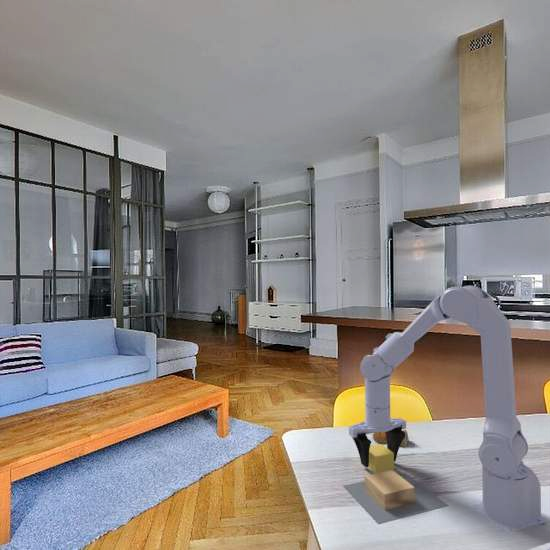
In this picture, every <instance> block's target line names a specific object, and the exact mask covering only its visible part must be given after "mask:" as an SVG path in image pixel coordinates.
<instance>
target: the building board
mask: <svg viewBox="0 0 550 550" xmlns="http://www.w3.org/2000/svg"><path fill="white" fill-rule="evenodd" d="M397 474H398V475H400V476H401V477H402V478H403V479H405V480H406V481H407V482H409V483H410V484H411V485H412V486H414V487H415V503H411V504H407V505H403V506H399V507H395V508H391V509H387V510H384V509H383V508H382V507H381V506H380V505H379V504H378V503H377V502H376V501H375V500H374V499H373V498H372V497H371V496H370V495H369V494H368V493H367V492H366V491H365V480H363V481H360V482H354V483H350V484H345V485H342V487H343V488H344V489H345V490H346V491H347V492H348V493H349V494H350V495H351V496H352V498H354V500H355V501H356V502H357V503H358V504H359V505H360V506H361V507H362V509H364V511H365V512H366V513H367V514H368V515H369V516H370V517H371V519H373V520H374V521H375V523H376V524H378V525H380V524H383V523H384V524H385V523H388V522H392V521H395V520H396V521H397V520H399V519H404V518H408V517H411V516H415V515H419V514H422V513H426V512H430V511H434V510H437V509H441V508H445V507H449V505H448V504H447V503H446V502H445V501H443V500H442V499H441V498H440V497H438V496H437V495H436V494H434V493H433V492H432V491H430V490H429V489H428V488H426V487H425V486H424V485H422V484H421V483H420V482H418V481H417V480H416V479H414V478H413V477H412V476H410V475H409V474H408V473H407V472H400V473H397Z"/></svg>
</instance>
